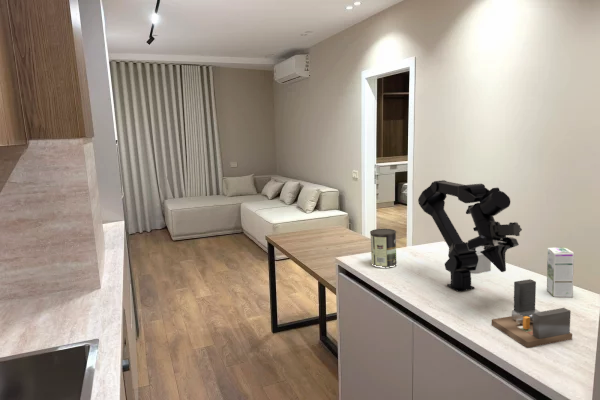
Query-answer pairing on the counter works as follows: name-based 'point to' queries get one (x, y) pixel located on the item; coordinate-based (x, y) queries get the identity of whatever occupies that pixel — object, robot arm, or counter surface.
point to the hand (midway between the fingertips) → (503, 271)
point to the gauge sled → (524, 300)
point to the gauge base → (523, 335)
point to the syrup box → (560, 272)
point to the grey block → (481, 262)
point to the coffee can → (383, 247)
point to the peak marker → (526, 322)
